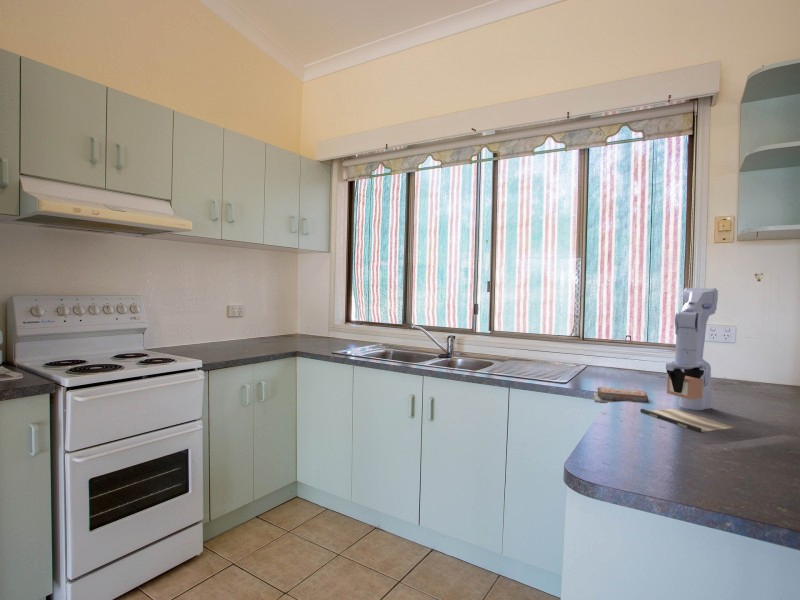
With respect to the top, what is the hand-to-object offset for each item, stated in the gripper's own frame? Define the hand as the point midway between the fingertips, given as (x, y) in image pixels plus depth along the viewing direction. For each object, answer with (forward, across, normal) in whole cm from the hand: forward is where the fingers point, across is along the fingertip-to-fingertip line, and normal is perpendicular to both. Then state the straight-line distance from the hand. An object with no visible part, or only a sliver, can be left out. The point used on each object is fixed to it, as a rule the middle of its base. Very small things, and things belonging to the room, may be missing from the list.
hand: (684, 391), depth 140 cm
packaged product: (+10, 0, -25) cm, 27 cm away
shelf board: (+10, +1, +2) cm, 10 cm away
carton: (+1, 0, 0) cm, 1 cm away
